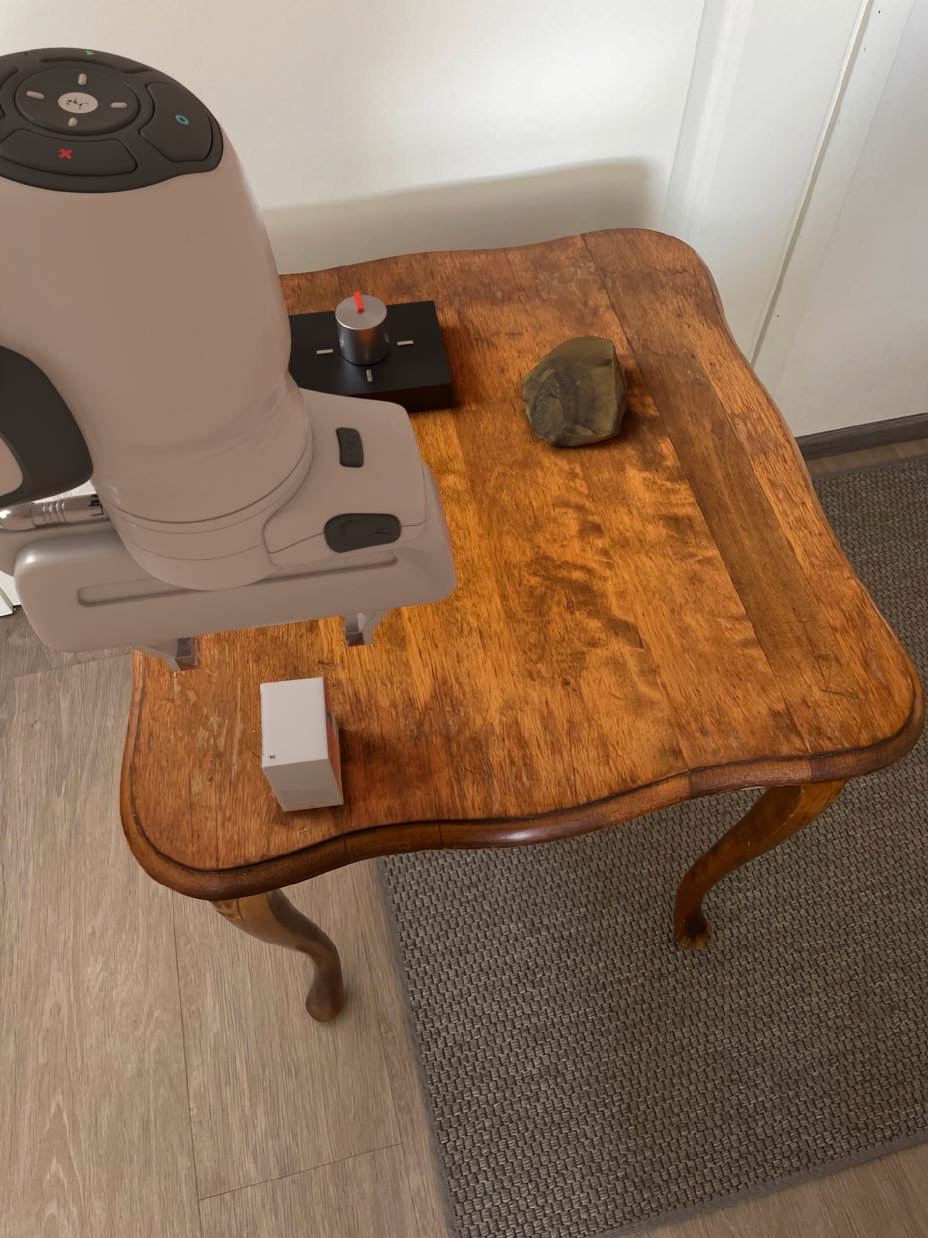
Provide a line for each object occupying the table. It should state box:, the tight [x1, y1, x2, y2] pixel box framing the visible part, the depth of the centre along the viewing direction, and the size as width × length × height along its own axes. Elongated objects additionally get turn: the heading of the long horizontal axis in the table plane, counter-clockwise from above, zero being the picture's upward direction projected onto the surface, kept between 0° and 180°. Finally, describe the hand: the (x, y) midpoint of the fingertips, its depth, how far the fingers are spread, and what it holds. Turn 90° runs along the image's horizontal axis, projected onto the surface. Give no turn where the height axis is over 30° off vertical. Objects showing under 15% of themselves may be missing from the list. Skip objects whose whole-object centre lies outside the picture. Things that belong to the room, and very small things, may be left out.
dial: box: [335, 291, 390, 365], centre depth 79 cm, size 4×4×4 cm
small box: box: [259, 676, 345, 813], centre depth 60 cm, size 6×4×8 cm
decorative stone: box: [521, 335, 628, 448], centre depth 80 cm, size 10×9×4 cm
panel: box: [288, 299, 453, 414], centre depth 82 cm, size 14×11×3 cm
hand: (274, 647), depth 50 cm, fingers open, 8 cm apart
